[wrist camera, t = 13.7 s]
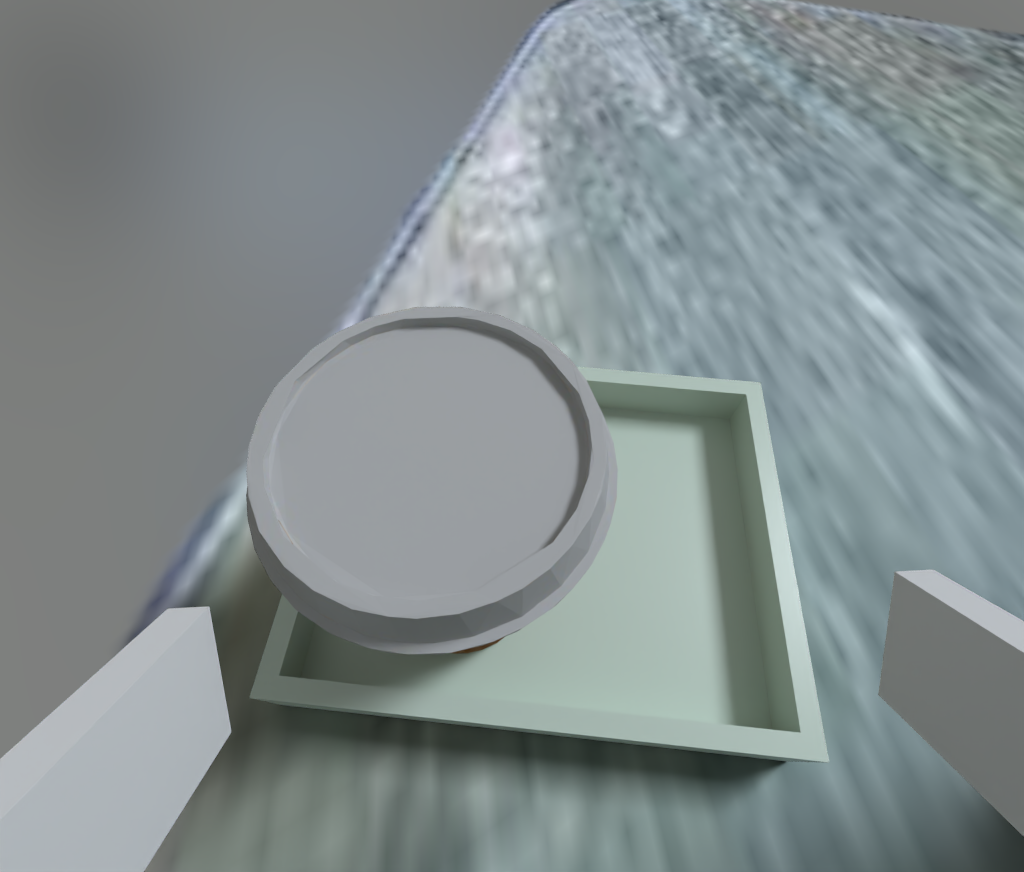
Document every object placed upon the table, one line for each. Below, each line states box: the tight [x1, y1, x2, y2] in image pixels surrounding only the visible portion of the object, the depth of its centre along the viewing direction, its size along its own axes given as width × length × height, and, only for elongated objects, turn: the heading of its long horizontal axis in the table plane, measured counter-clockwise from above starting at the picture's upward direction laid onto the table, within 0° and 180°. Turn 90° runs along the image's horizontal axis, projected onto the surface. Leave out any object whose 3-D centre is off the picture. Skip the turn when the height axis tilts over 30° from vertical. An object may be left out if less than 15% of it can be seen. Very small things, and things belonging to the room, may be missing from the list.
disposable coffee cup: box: [246, 307, 618, 655], centre depth 18 cm, size 10×10×12 cm
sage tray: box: [249, 367, 829, 762], centre depth 24 cm, size 20×16×3 cm
